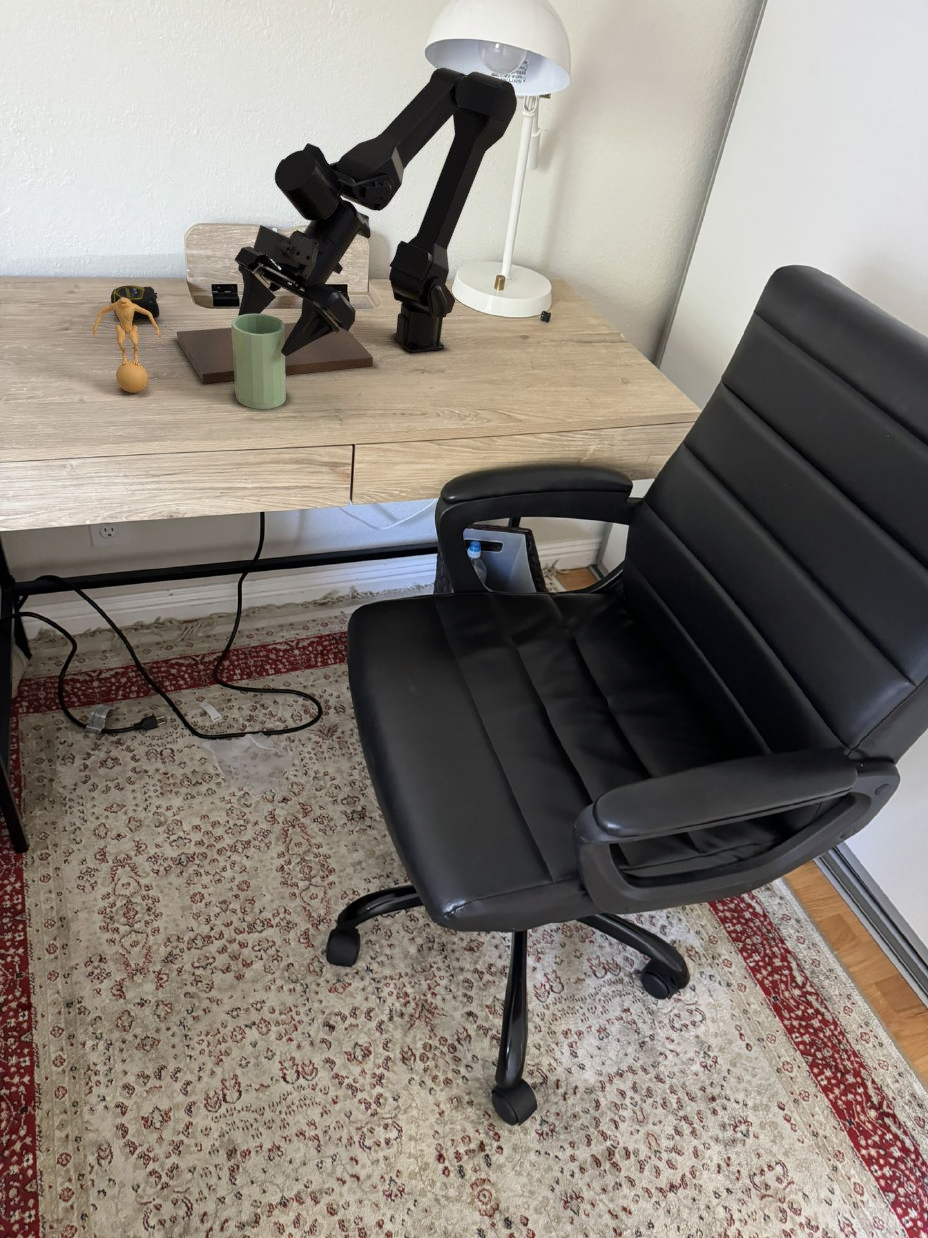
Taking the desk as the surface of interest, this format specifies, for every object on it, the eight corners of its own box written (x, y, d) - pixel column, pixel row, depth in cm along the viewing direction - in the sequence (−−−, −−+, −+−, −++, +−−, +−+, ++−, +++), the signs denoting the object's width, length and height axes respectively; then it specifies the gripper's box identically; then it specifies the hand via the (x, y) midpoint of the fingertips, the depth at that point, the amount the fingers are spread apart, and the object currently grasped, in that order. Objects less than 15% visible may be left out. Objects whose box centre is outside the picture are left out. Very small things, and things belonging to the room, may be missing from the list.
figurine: (100, 397, 107) (83, 307, 99) (103, 376, 111) (88, 288, 103) (166, 398, 109) (155, 310, 101) (167, 377, 113) (157, 292, 105)
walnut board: (338, 327, 133) (338, 319, 132) (372, 366, 124) (373, 356, 123) (177, 340, 122) (176, 331, 121) (203, 383, 113) (202, 373, 112)
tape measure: (161, 325, 125) (158, 301, 122) (113, 325, 122) (109, 300, 120) (158, 307, 129) (156, 283, 127) (112, 306, 127) (109, 282, 125)
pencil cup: (276, 383, 116) (274, 311, 109) (292, 405, 112) (292, 332, 105) (229, 388, 113) (225, 315, 106) (244, 411, 109) (240, 337, 102)
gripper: (243, 179, 103) (177, 281, 104) (343, 225, 96) (272, 335, 96) (290, 235, 114) (230, 328, 114) (384, 280, 106) (320, 379, 106)
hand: (260, 341), depth 107 cm, fingers open, 9 cm apart
